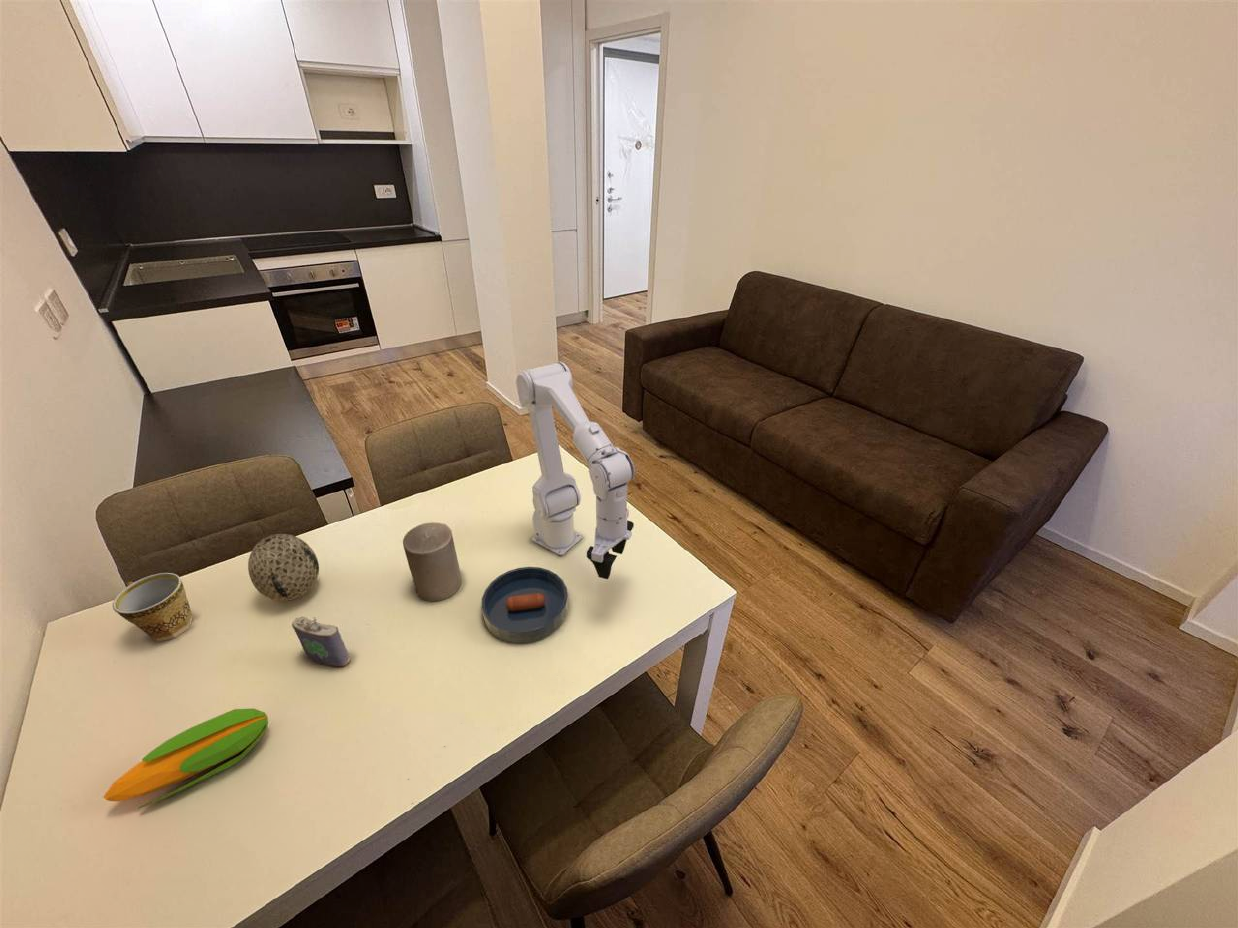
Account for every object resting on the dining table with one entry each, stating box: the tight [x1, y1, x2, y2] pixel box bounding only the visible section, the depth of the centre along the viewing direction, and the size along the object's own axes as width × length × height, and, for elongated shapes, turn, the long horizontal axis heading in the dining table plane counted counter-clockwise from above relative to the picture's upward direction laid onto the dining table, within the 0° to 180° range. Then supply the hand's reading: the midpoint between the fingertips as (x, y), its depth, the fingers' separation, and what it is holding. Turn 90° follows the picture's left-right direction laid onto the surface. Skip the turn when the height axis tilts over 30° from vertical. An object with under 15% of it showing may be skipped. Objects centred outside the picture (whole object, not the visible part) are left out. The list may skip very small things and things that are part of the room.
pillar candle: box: [402, 521, 462, 602], centre depth 106 cm, size 10×10×15 cm
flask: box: [291, 616, 352, 668], centre depth 92 cm, size 9×3×11 cm, turn 74°
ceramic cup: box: [112, 572, 194, 642], centre depth 98 cm, size 13×10×10 cm
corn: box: [102, 708, 269, 810], centre depth 76 cm, size 7×8×20 cm
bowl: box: [481, 566, 569, 645], centre depth 104 cm, size 17×17×4 cm
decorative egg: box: [247, 533, 320, 602], centre depth 104 cm, size 12×12×15 cm
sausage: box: [506, 593, 545, 611], centre depth 104 cm, size 8×3×3 cm, turn 100°
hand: (610, 564), depth 103 cm, fingers open, 7 cm apart
